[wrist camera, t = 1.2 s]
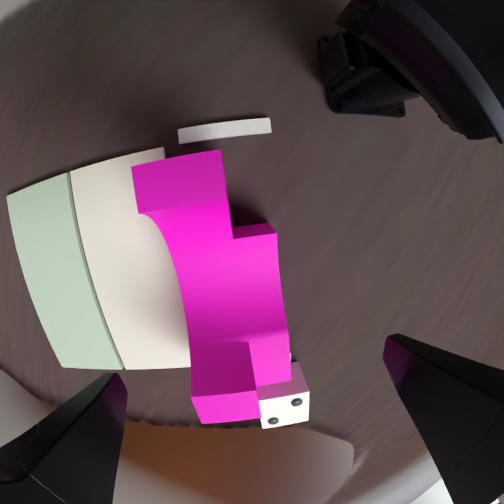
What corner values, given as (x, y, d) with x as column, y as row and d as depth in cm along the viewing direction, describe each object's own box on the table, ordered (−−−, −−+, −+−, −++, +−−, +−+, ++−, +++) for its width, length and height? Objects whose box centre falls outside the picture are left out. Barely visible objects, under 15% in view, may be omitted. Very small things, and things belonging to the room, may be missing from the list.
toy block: (280, 344, 22) (301, 410, 15) (206, 355, 22) (201, 423, 14) (259, 154, 18) (282, 142, 10) (168, 168, 17) (130, 166, 10)
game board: (268, 119, 17) (269, 117, 16) (290, 359, 22) (291, 362, 22) (8, 184, 15) (5, 185, 15) (68, 371, 21) (66, 374, 20)
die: (297, 360, 22) (309, 392, 19) (298, 390, 24) (308, 421, 20) (252, 368, 22) (257, 401, 18) (257, 397, 23) (262, 429, 19)
